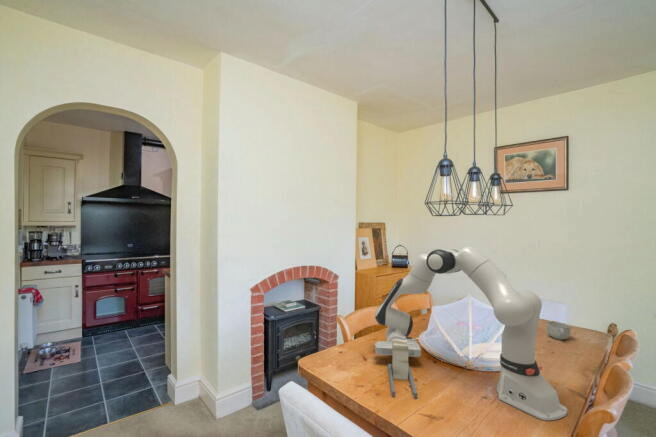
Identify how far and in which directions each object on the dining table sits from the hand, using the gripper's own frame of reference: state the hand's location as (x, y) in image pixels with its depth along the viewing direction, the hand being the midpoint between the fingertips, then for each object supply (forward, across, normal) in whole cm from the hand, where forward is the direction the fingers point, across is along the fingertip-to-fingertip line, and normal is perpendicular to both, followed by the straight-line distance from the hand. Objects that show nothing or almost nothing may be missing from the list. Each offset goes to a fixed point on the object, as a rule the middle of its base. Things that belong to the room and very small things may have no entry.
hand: (399, 356), depth 135 cm
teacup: (-52, +93, +8) cm, 107 cm away
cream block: (+4, 0, +6) cm, 7 cm away
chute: (+9, 0, +7) cm, 11 cm away
